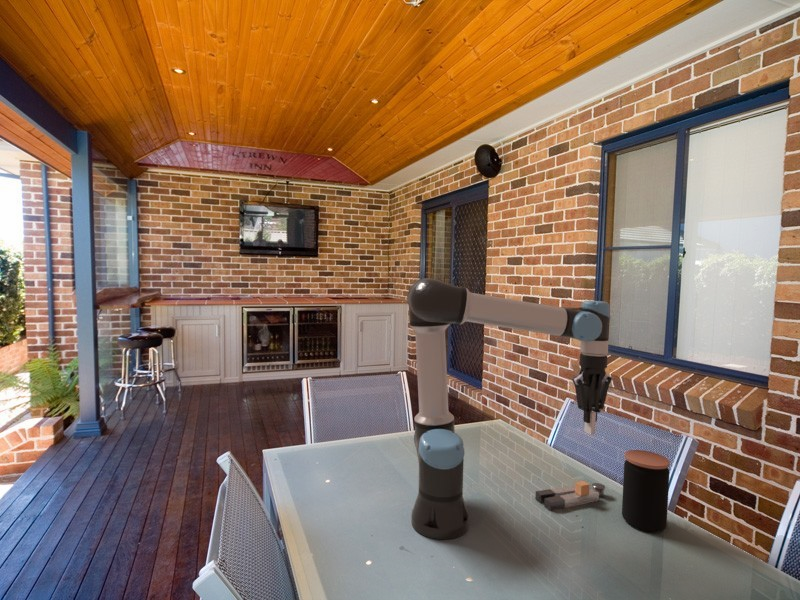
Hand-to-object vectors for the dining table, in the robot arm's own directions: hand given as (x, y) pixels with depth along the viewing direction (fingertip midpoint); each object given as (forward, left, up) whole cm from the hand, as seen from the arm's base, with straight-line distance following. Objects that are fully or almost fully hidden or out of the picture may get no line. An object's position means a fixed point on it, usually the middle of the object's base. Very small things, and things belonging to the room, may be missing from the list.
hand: (589, 432), depth 133 cm
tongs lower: (-5, 0, -20) cm, 20 cm away
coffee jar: (+5, -16, -20) cm, 26 cm away
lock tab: (-3, -1, -17) cm, 17 cm away
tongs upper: (-7, +2, -20) cm, 21 cm away
